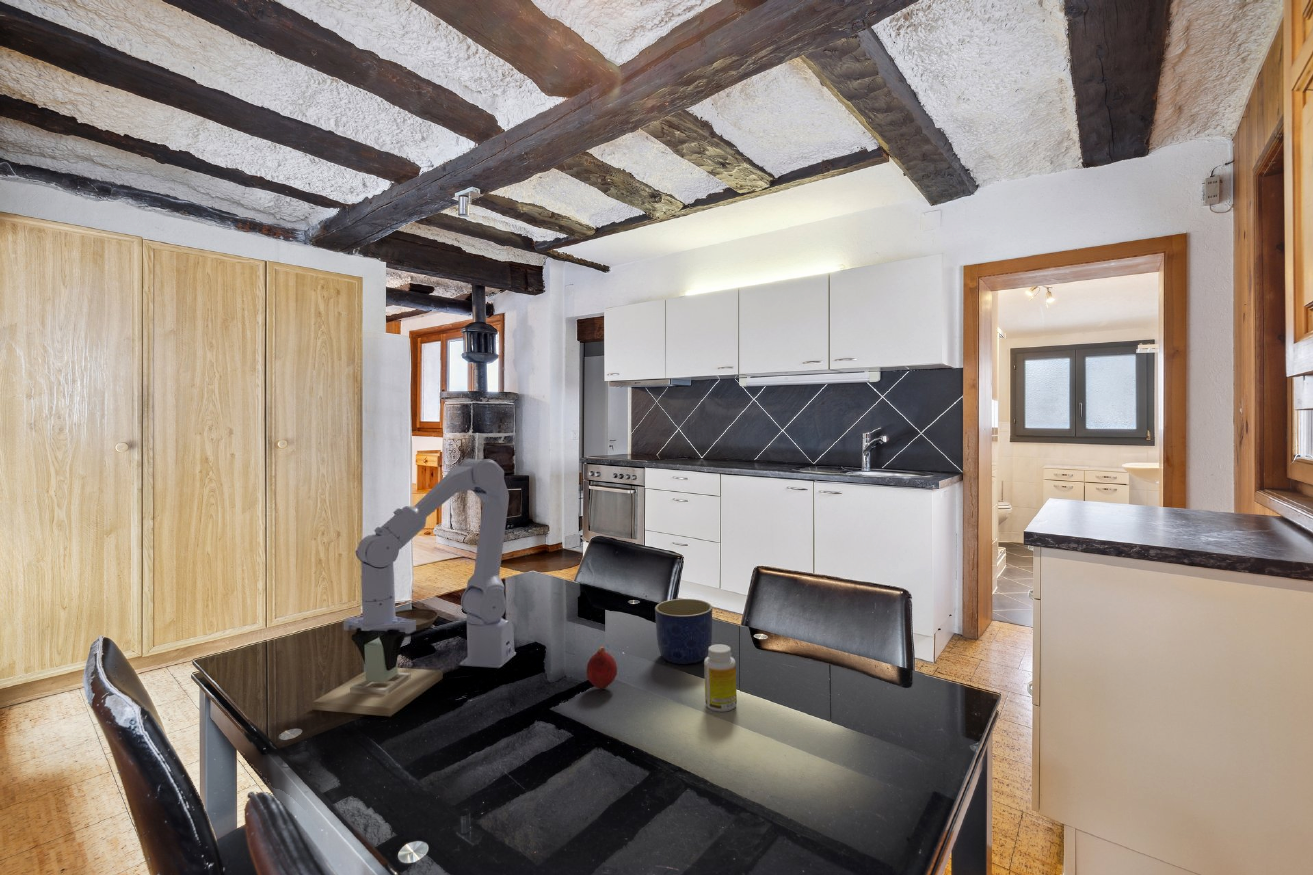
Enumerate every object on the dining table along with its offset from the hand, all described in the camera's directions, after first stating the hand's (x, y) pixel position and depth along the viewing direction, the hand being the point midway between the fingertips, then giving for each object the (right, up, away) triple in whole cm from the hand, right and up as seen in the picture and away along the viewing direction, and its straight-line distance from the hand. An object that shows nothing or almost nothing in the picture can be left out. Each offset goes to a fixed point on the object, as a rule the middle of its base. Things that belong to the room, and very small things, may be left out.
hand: (380, 667), depth 111 cm
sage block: (0, -2, 0) cm, 2 cm away
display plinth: (0, -5, 0) cm, 5 cm away
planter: (+59, -3, +14) cm, 61 cm away
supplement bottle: (+65, -3, -9) cm, 65 cm away
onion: (+43, -4, -1) cm, 43 cm away
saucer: (-12, -5, +39) cm, 42 cm away
